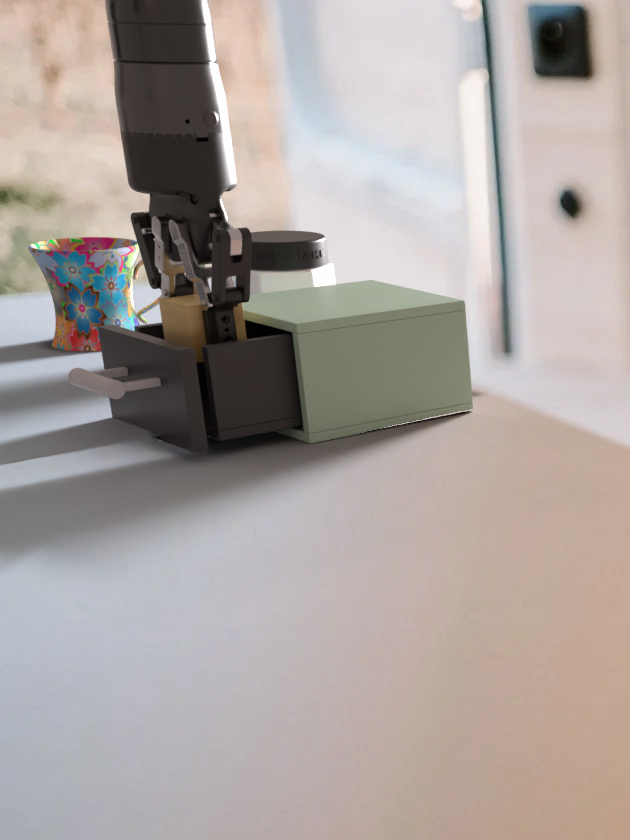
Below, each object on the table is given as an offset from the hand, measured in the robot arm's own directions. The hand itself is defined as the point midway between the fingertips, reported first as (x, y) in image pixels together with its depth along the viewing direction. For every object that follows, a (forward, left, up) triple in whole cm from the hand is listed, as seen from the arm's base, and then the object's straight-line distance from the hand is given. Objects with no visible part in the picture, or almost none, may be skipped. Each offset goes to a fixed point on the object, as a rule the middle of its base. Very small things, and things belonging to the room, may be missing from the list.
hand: (207, 351), depth 127 cm
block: (0, 0, 0) cm, 0 cm away
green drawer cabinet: (+12, 0, -7) cm, 14 cm away
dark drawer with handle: (0, 0, -6) cm, 6 cm away
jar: (+19, +20, -7) cm, 28 cm away
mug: (+9, +34, -7) cm, 36 cm away
